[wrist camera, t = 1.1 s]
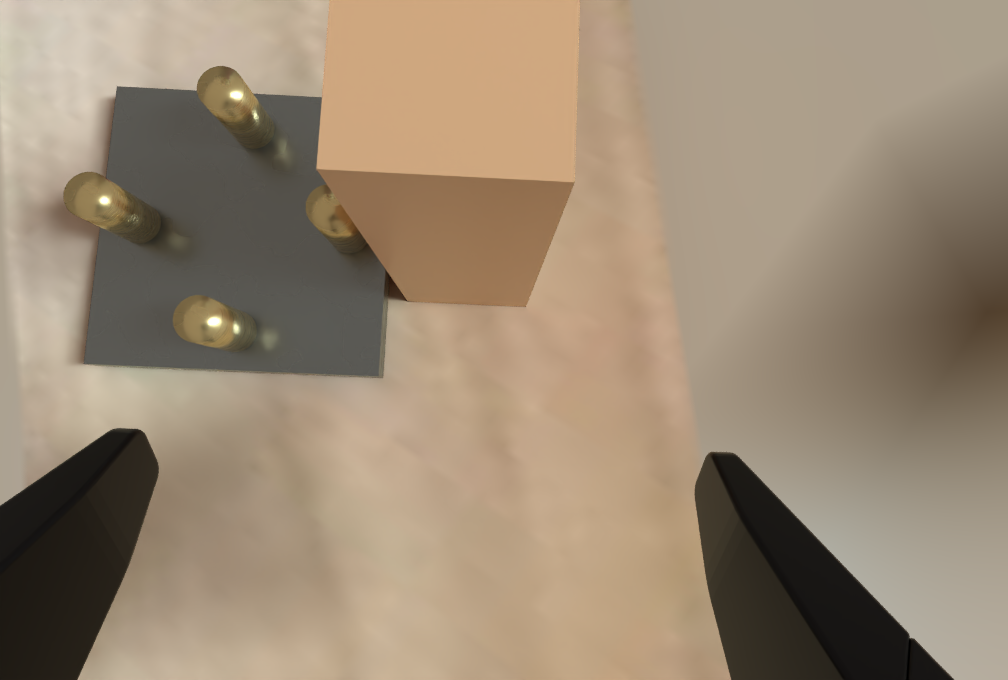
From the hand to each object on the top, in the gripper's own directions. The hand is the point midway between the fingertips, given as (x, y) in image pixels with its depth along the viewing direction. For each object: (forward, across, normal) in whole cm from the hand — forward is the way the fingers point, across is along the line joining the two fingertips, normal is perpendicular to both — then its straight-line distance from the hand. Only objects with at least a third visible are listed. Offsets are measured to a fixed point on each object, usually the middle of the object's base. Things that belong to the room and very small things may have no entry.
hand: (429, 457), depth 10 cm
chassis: (+14, +8, +4) cm, 17 cm away
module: (+14, 0, +4) cm, 15 cm away
